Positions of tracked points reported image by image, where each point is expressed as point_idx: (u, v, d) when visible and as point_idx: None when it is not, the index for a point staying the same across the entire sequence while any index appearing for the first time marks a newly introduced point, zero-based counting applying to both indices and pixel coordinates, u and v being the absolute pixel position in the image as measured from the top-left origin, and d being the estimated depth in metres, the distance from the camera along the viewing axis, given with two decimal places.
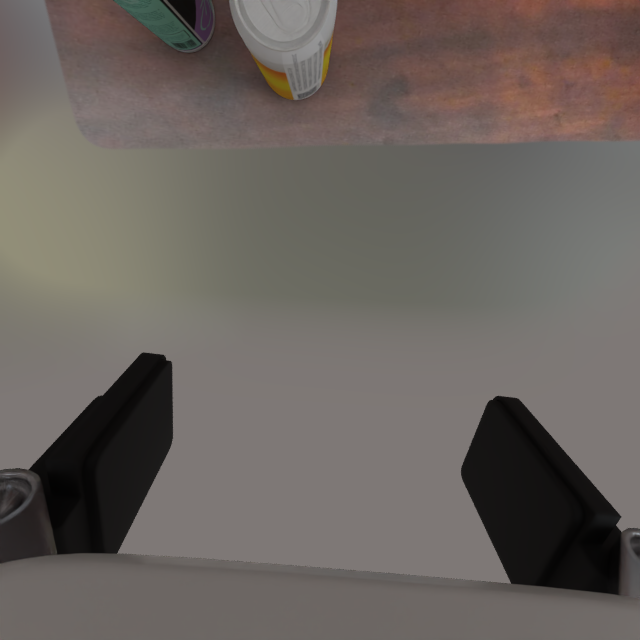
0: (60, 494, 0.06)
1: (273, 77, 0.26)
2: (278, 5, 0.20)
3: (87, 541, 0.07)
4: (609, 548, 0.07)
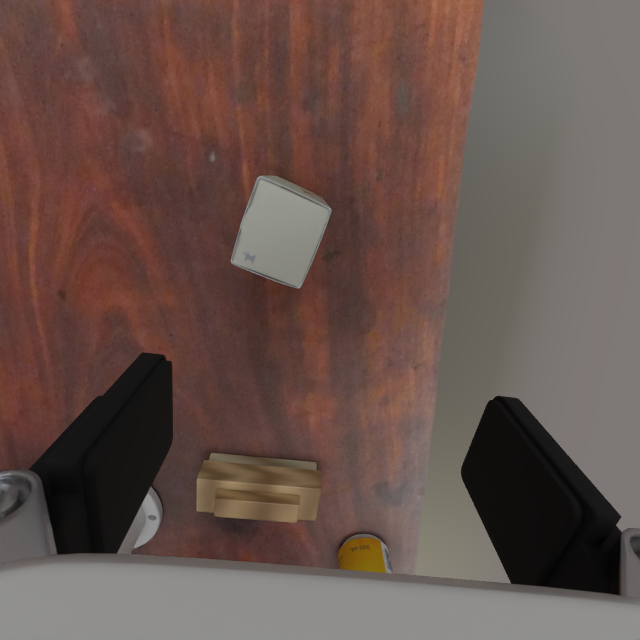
0: (60, 494, 0.06)
1: None
2: None
3: (87, 541, 0.07)
4: (609, 548, 0.07)
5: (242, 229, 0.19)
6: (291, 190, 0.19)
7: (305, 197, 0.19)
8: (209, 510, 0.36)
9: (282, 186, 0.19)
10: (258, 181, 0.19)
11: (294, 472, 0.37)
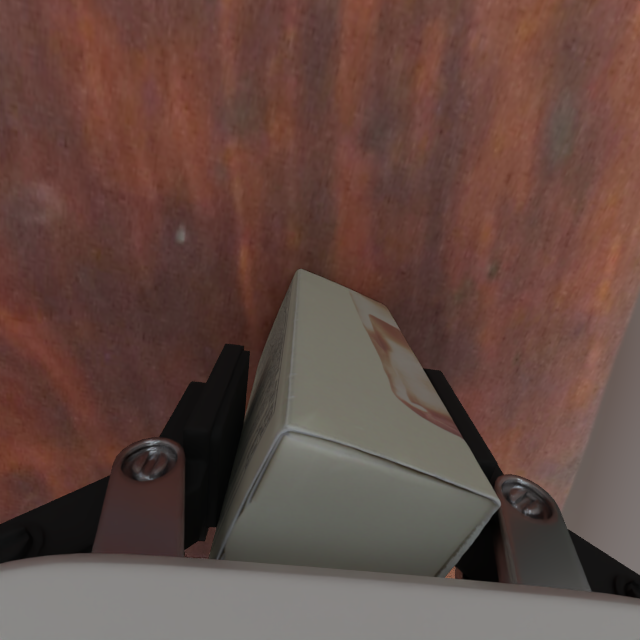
0: (192, 460, 0.07)
1: None
2: None
3: (206, 502, 0.08)
4: None
5: (229, 550, 0.06)
6: (385, 458, 0.06)
7: (426, 473, 0.06)
8: None
9: (358, 448, 0.06)
10: (281, 439, 0.06)
11: None
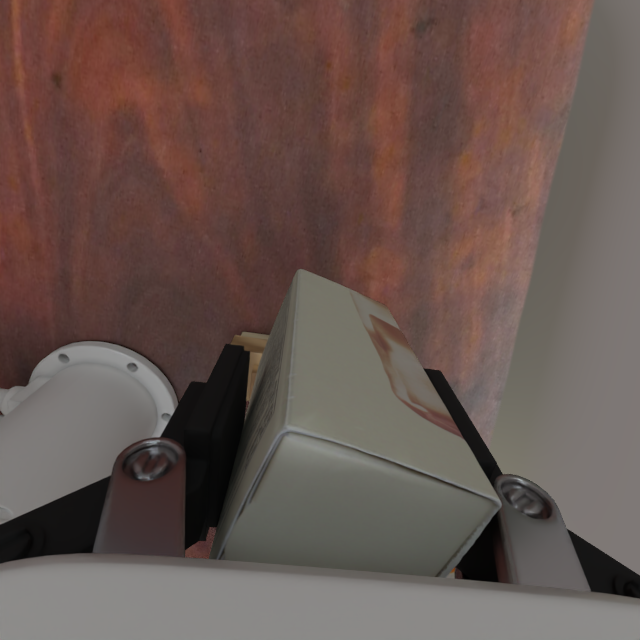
0: (192, 460, 0.07)
1: None
2: None
3: (207, 502, 0.08)
4: None
5: (229, 550, 0.06)
6: (385, 458, 0.06)
7: (426, 474, 0.06)
8: None
9: (358, 449, 0.06)
10: (281, 439, 0.06)
11: None
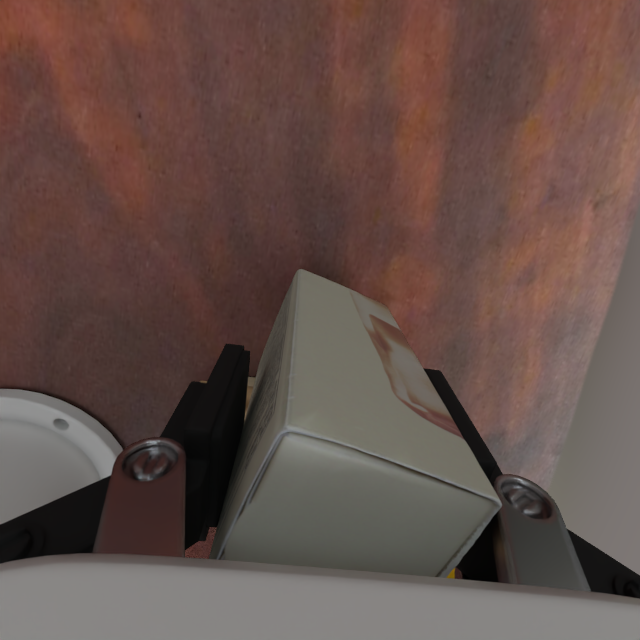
0: (192, 460, 0.07)
1: None
2: None
3: (207, 502, 0.08)
4: None
5: (229, 551, 0.06)
6: (385, 459, 0.06)
7: (427, 474, 0.06)
8: None
9: (358, 449, 0.06)
10: (281, 440, 0.06)
11: None
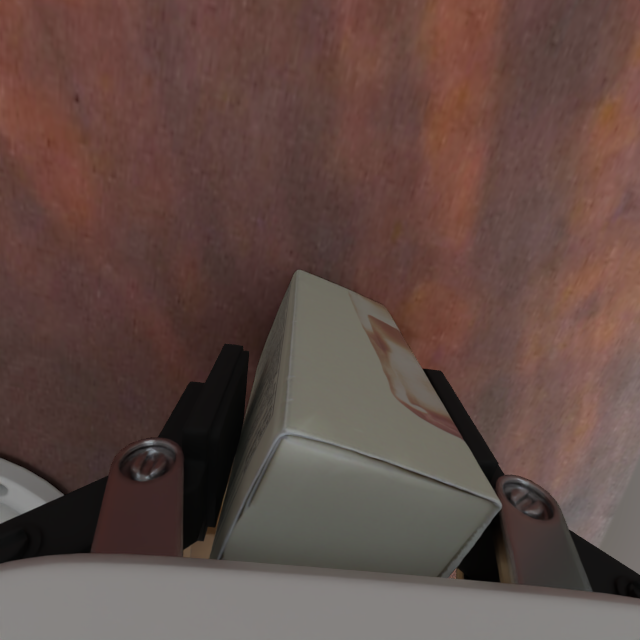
0: (190, 460, 0.07)
1: None
2: None
3: (205, 503, 0.08)
4: None
5: (228, 554, 0.06)
6: (385, 461, 0.06)
7: (426, 476, 0.06)
8: None
9: (357, 451, 0.06)
10: (280, 443, 0.06)
11: None
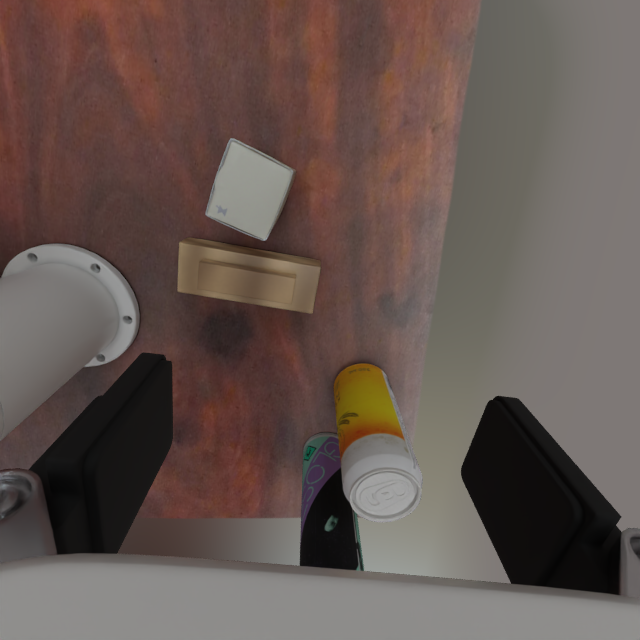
0: (60, 494, 0.06)
1: None
2: (392, 498, 0.27)
3: (87, 541, 0.07)
4: (609, 548, 0.07)
5: (215, 185, 0.22)
6: (258, 152, 0.22)
7: (270, 159, 0.22)
8: (192, 291, 0.32)
9: (251, 148, 0.22)
10: (230, 143, 0.22)
11: (290, 256, 0.32)
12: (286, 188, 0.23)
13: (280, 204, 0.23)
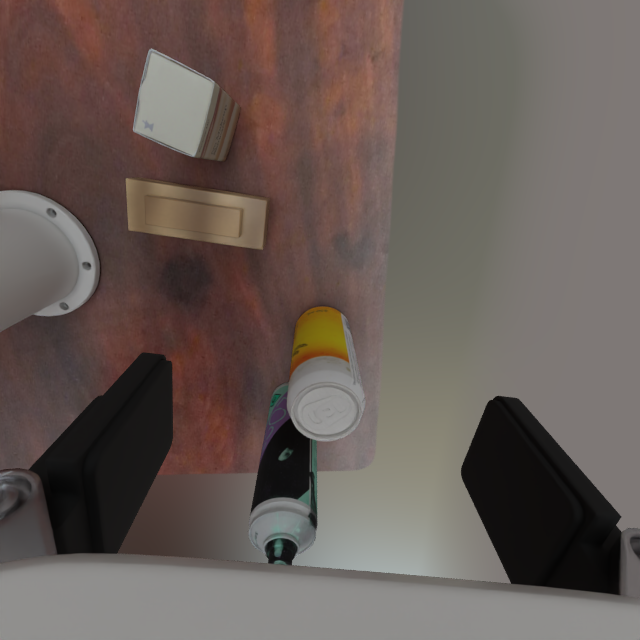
0: (60, 494, 0.06)
1: None
2: (334, 414, 0.27)
3: (87, 541, 0.07)
4: (609, 548, 0.07)
5: (140, 98, 0.23)
6: (178, 63, 0.22)
7: (191, 70, 0.23)
8: (142, 229, 0.32)
9: (171, 59, 0.22)
10: (150, 54, 0.22)
11: (239, 193, 0.33)
12: (209, 100, 0.23)
13: (205, 118, 0.24)
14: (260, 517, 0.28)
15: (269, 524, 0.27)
